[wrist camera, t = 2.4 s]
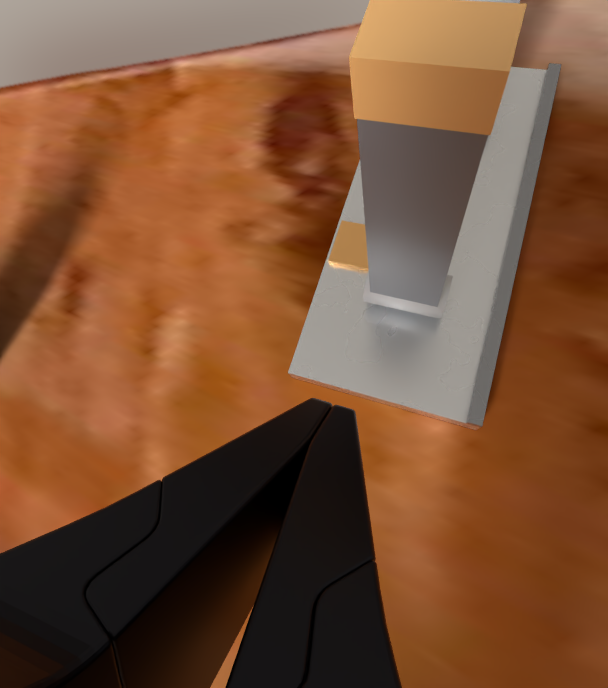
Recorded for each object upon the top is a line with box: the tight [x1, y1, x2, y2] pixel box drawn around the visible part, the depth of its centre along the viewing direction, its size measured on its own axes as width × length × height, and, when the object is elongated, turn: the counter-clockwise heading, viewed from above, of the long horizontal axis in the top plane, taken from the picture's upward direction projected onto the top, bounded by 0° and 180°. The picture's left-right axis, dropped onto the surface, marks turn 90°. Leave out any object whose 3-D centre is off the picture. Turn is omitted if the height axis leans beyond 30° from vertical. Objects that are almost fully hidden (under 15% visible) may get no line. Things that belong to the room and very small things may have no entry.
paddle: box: [349, 0, 527, 319], centre depth 15 cm, size 2×4×13 cm, turn 72°
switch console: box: [288, 63, 561, 430], centre depth 23 cm, size 20×9×1 cm, turn 162°
